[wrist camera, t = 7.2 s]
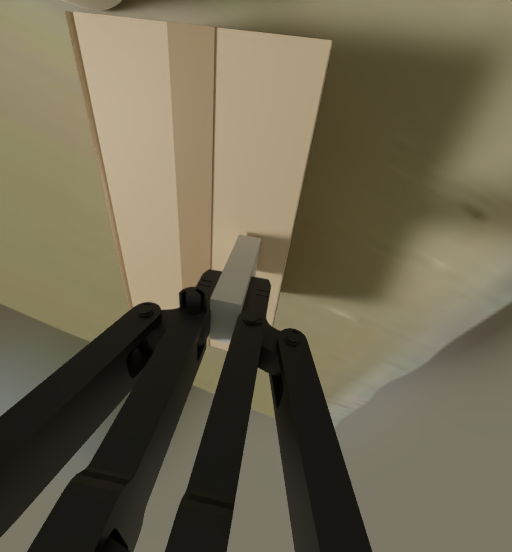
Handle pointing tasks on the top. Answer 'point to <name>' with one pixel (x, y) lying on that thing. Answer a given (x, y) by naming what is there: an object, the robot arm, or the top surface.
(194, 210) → the lid
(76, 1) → the beverage can
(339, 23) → the top surface
